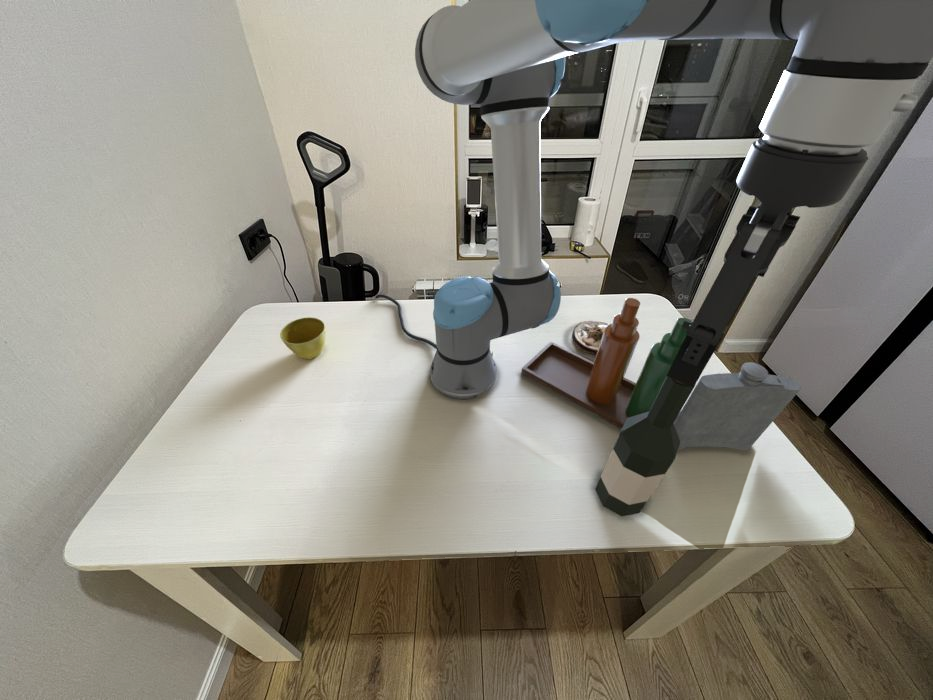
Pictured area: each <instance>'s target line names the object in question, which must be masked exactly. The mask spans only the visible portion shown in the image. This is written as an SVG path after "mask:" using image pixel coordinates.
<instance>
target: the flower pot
mask: <svg viewBox="0 0 933 700" xmlns="http://www.w3.org/2000/svg"><path fill="white" fill-rule="evenodd" d="M279 337H280V339H281V341H282V342H283V344H284V345H285V346H286V347H287V349H289V350H290V351H291V352H292V353H293V354H295V355H296V356H298V357H300V358H302V359H305V360H311V359H315V358H317V357H318V356H320V355H321V353H322V352H323V349H324V346H325V344H326V343H325V342H326V325H325V323H324V321H323V320H321V319H320V318H317V317H308V316H307V317H300V318H297V319H294V320H292V321H290V322H288V323H287V324H285V326H283V327H282V329H281V331H280V334H279Z"/></svg>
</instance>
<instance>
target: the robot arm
mask: <svg viewBox="0 0 933 700" xmlns="http://www.w3.org/2000/svg"><path fill="white" fill-rule="evenodd" d="M718 39H739V40H740V39H741V40H742V39H743V40H745V39H746V40H747V39H750V40H751V39H752V40H753V39H754V40H782V41H797V43H796V45H795V48H794V50H793V52H792V55H791V58H790V60H789V62H788V65H787V66H786V69H784V70H783V73H782V75H781V77H780V79H779V82H778V84H777V85H776V88H775V91H774V93H773V95H772V98H771V99H770V102H769V104H768V106H767V108H766V110H765V113H764V115H763V118H762V120H761V122H760V124H759V126H758V128H759V131H760V132H761V133H762V134H763V136H760V137H759V138H757V139H756V140H755V141H753V143H751V146H750V149H749V151H748V153H747V155H746V157H745V160H744V161H743V164H742V167H741V168H740V171H739V173H738V175H737V177H736V181H735V182H736V187H737V188H738V189H739V190H740V191H741V192H743V194H745V195H747V196H753V197H754V198H756V199H757V200H758V201H759V202H760V203H759V205H758V206H753V205H750V206H749V207H748V208H747V210H746V212H745V213H743V214H742V216H741V218H740V220H739V222H738V223H737V225H736V228H735V231H734V237H733V238H732V240H731V242H730V243H729V245H728V247H727V249H726V251H725V252H724V256H723V262H724V263H723V265H722V267H721V268H720V270H719V272H718V274H717V276H716V278H715V280H714V282H712V283H713V284H712V285H711V287H710V289H709V290H708V293H707V295H706V296H705V298H704V300H703V302H702V304H701V306H700V307H699V309H698V311H697V313H696V315H695V317H694V319H693V320H692V323H689V322H686V321H684V323H683V325H682V327H681V328H683V329H686V331H687V332H686V337H685V339H684V341H683V343H682V345H681V347H680V349H679V351H678V353H677V355H676V357H675V359H674V361H673V363H672V365H671V367H670V369H669V371H668V373H667V375H666V376H668V377H670V378H672V379H675V380H677V381H679V382H681V383H683V384H685V385H688V386H690V387H692V388H693V387H694V386H695V387H696V385H697V383H698V381H699V380H700V378H701V375H702V374H703V372H704V370H705V369H706V367H707V365H708V363H709V361H710V360H711V358H712V357H713V355H714V353H715V351H716V349H717V348H718V346H719V345H720V344H721V342H722V340H723V338H724V336H725V331H726V329H727V327H729V325H730V324H731V322H732V320H733V319H734V317H735V315H736V313H737V312H738V310H739V308H740V306H741V304H742V303H743V301H744V299H745V297H746V296H747V294H748V292H749V291H750V289H751V288H752V285H753V284H754V283H755V280H756V279H757V277H756V276H758V277H761V278H764V277H765V275H766V273H767V272H768V270H769V267H770V265H771V264H772V262H773V260H774V258H775V257H776V255H777V253H778V251H779V250H780V248H782V247H783V246H785V245H786V243H788V240H789V239H790V237H791V236H792V234H793V232H794V231H795V230H796V229H795V228H796V227H797V223H798V222H799V221H800V219H801V216H799V215H795V214H792V212H793V211H794V209H795V208H798V207H799V208H800V207H806V208H810V209H814V208H815V209H817V208H825V207H830V206H833V205H835V204H838V203H839V202H840V201H841V200H843V199H844V197H845V196H846V194H847V193H848V191H849V190H850V188H851V186H852V185H853V184H854V182H855V180H856V179H857V177H858V175H859V174H860V172H861V171H862V169H863V167H864V166H865V164H866V163H867V161H868V160H869V156H868V152H867V150H865V149H863V148H865V147H869V146H873V145H875V144H877V143H878V142H879V141H880V140H881V138H882V137H883V134H885V132H886V130H887V129H888V127H889V126H890V125H891V123H892V121H893V120H894V119H893V112H895V113H896V112H898V113H899V112H900V113H907V112H909V111H911V110H913V109H914V108H915V106H916V105H917V103H918V100H919V96H918V95H916V94H906V93H908V92H909V91H911V90H912V89H913V88H914V87H915V85H916V84H917V82H918V79H919V77H921V76H922V75H923V74H924V73H925V71H926V70H927V68H928V67H929V65H930V64H929V63H930V62H931V60H932V59H933V0H469V1H467V2H465V3H464V4H463V5H456V4H455V5H454V4H453V5H446V6H443V7H441V8H439V9H438V10H437V11H435V12H434V13H433V14H432V15H430V16H429V17H428V18H427V20H426V21H425V22H423V24H422V25H421V28H420V29H419V31H418V35H417V37H416V40H415V41H416V42H415V48H414V60H415V66H416V68H417V72H418V74H419V77H420V79H421V82H422V83H423V84H424V86H425V87H426V88H427V89H428V91H429V92H430V93H431V94H433V95H434V96H435V97H437V98H438V99H440V100H442V101H444V102H447V103H449V104H452V105H462V106H470V105H471V106H472V105H479V106H480V117H481V119H482V121H483V122H485V124H486V125H487V126H488V127H489V129H490V139H491V140H490V141H491V157H492V158H491V159H492V172H493V174H492V175H493V186H494V202H495V203H494V205H495V220H496V235H497V252H498V262H497V263H496V265H494V266H493V268H492V270H491V274H492V281H491V282H489V281H487V280H486V279H484V278H482V277H478V276H474V277H471V276H461V277H460V276H459V277H457V278H454V279H451V280H449V281H447V282H446V283H444V284H442V286H440V288H439V289H437V292H436V294H435V295H434V299H433V312H432V317H433V320H434V321H433V322H434V331H435V342H434V341H431V340H430V339H427V338H424V337H420V336H417V335H415V334H412V333H411V332H410V331H409V330H407V328H406V327H405V322H404V318H403V312H402V306H401V304H400V303H399V302H398V301H397V300H396V299H394V298H393V297H391V296H389V295H386V294H382V293H381V294H380V293H379V294H377V295H375V296H374V298H375V299H379V298H383V299H386V300H389V301H390V302H392V303H393V304H394V305H396V307H397V313H398V319H399V322H400V327H401V330H402V332H403V333H404V334H405V335H406V336H407V337H409V338H411V339H412V340H416V341H419V342H423V343H426V344H427V345H429V346H431V347H432V348H434V349H435V350H436V351H435V353H434V357H433V359H432V362H431V365H430V380H431V383H432V385H433V387H434V388H435V389H436V390H437V391H438V392H439V393H441V394H442V395H444V396H446V397H448V398H452V399H458V400H470V399H475V398H478V396H479V395H482V394H483V393H486V392H487V391H488V390H489V389H491V387H493V385H494V383H495V381H496V380H497V366H496V362H495V360H494V358H493V355H494V351H491V341H493V340H497V339H499V338H501V337H507V336H510V335H513V334H516V333H519V332H524V331H526V330H530V329H531V330H532V329H536V328H538V327H540V326H542V325H545V324H548V323H549V322H551V321H553V320H554V318H555V317H556V316H557V314H558V312H559V310H560V306H561V299H562V293H561V286H560V285H558V283H559V279H558V278H557V276H556V275H555V274H554V273H553V272H552V271H551V270H550V266H549V264H547V262H545V261H544V260H543V259H542V190H541V189H542V187H541V186H542V182H541V178H542V176H541V174H542V172H541V171H542V168H541V122H542V119H543V118H544V117H545V116H546V114H547V113H548V112H549V111H550V99H551V98H552V97H554V95H556V93H557V92H558V91H559V89H560V87H561V85H562V82H561V80H562V79H563V78H564V74H565V69H566V68H565V67H566V57H568V56H572V55H574V54H579V53H584V52H589V51H592V50H596V49H600V48H604V47H608V46H611V45H614V44H620V43H629V42H640V41H642V42H643V41H655V40H657V41H671V40H673V41H674V40H675V41H676V40H718ZM695 384H696V385H695ZM695 387H694V388H695Z"/></svg>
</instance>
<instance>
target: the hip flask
mask: <svg viewBox="0 0 933 700" xmlns="http://www.w3.org/2000/svg"><path fill="white" fill-rule="evenodd" d="M801 390H802V385H801V384H800V382H799V381H797V379H796V380H795V379H794V378H792V377H789V376H784V375H783V376H782V375H777V374H776V375H775V374H769V371H768V370H767V369H766V367H764V366H763V365H761V364H759V363H756V362H752V361H748V362H744V363H743V364H742V365H741V367H740V372H725V373H723V372H722V373H712V374H706V375H702V376H700V377H699V379H698V381H697V383H696V385H695V387H694V389H693V390H692V392H691V394H690V395H689V397H688V399H687V401H686V402H685V404H684V406H683V407H682V409H681V411H680V413H679V414H678V416H677V418H676V419H675V421H674V423H673V424H674V426H675V429H676V432H677V434H678V437H679V440H680V445H679V448H678V450H679V449H685V448H693V447H695V448H696V447H717V448H728V449H736V450H742V451H748V450H750V449H751V447H752V446H753V445H754V444H755V443H756V442H757V440H758V439H759V438H760V437H761V436H762V435H763V434H764V433H765V431H766V430H768V428H769V426H770V425H772V423H773V422H774V421H775V419H777V418H778V416H779V415H780V414H781V412H783V410H785V408H786V407H787V406H788V405H789V404H790V403H791V401H792V400H793V399H794V398H795V397H796V395H797V394H798V393H799V392H800V391H801Z"/></svg>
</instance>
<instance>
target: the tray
mask: <svg viewBox="0 0 933 700" xmlns="http://www.w3.org/2000/svg"><path fill="white" fill-rule="evenodd" d="M593 365H594V362H593V361H592V360H589V359H588V358H585V357H583V356H582V355H579V354H577V353H575V352H573V351H572V350H569V349H567V348H565V347H563V346H561V345H559V344H557V343H555V342H553V341H549V343H548V344H546V345H545V346H544V347H543V348H542V349H541V350H540V351H539V352H538V353H537V354H535V356H533V358H531V359H530V360H529V361H528V362H527V363H526V364H525V365H524V366H522V367H521V371H520V372H521V374H522V375H524V376H526V377H528V378H529V379H531V380H533V381H534V382H536V383H538V384H540V385H541V386H543V387H545V388H547V389H548V390H550V391H552V392H554V393H556V394H558V395H559V396H562V397H564V398H565V399H566V400H568V401H570V402H572V403H574V404H576V405H577V406H579V407H581V408H583V409H585V410H587V411H588V412H590V413H592V414H593V415H595V416H597V417H598V418H601V419H602V420H604V421H606V422H608V423H610V424H611V425H613V426H615V427H617V428H618V429H620V430H622V428H623V426H624V423H625V421H626V419H627V418H628V417H627V415H626V413H625V408H626V405H627V403H628V401H629V398H630V396H631V394H632V392H633V389H634V387H635V385H636V381H635V382H634V381H633V380H631V379H629V378H627V377H624V378H623V381H622V383H621V386H620V389H619V391H618V394H617V396H616V399H615V400H614V401H613V402H612V403H609V404H600V403H597V402H595V401H593V400H592V399H590V398H589V397H588V395H587V393H586V387H587V384H588V381H589V378H590V374H591V371H592V368H593Z"/></svg>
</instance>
